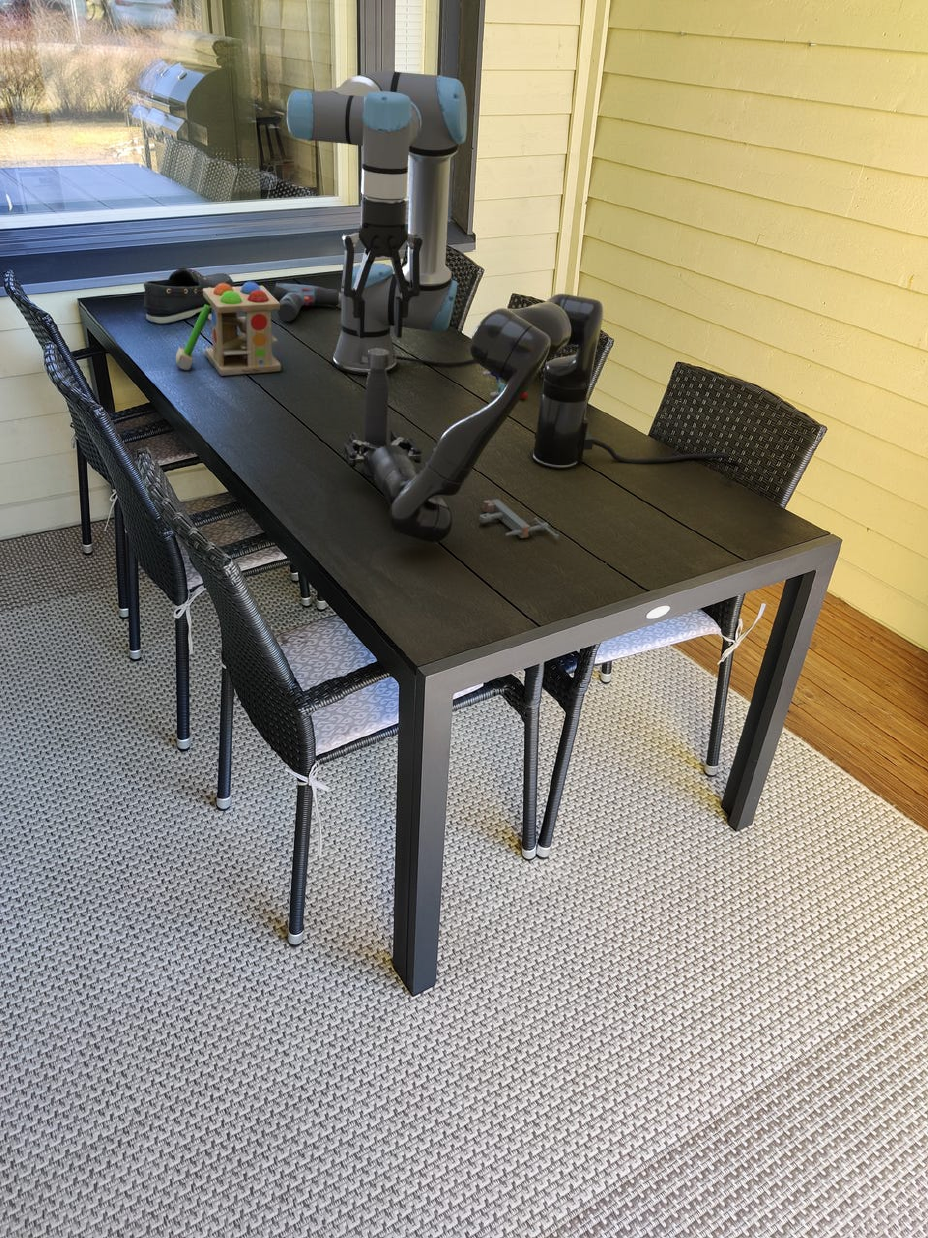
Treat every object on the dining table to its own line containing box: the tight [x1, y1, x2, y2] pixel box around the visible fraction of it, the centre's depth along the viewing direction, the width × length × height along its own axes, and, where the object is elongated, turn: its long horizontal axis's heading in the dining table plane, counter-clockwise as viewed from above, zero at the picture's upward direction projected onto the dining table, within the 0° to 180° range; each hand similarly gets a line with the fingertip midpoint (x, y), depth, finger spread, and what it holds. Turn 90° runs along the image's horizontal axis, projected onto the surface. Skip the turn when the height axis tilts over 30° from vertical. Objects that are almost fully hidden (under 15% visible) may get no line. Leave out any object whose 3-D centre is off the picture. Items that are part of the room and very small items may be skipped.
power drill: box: [274, 282, 342, 322], centre depth 265 cm, size 5×19×20 cm
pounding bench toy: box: [174, 281, 282, 377], centre depth 225 cm, size 23×14×18 cm, turn 116°
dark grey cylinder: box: [363, 368, 390, 478], centre depth 184 cm, size 4×4×24 cm
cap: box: [368, 348, 389, 369], centre depth 178 cm, size 4×4×3 cm
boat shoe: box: [143, 267, 235, 324], centre depth 260 cm, size 13×33×10 cm, turn 147°
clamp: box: [478, 498, 560, 540], centre depth 176 cm, size 15×2×10 cm
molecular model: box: [481, 370, 528, 400], centre depth 225 cm, size 12×10×10 cm
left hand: (379, 335), depth 175 cm, fingers open, 6 cm apart
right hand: (372, 436), depth 188 cm, fingers open, 7 cm apart
